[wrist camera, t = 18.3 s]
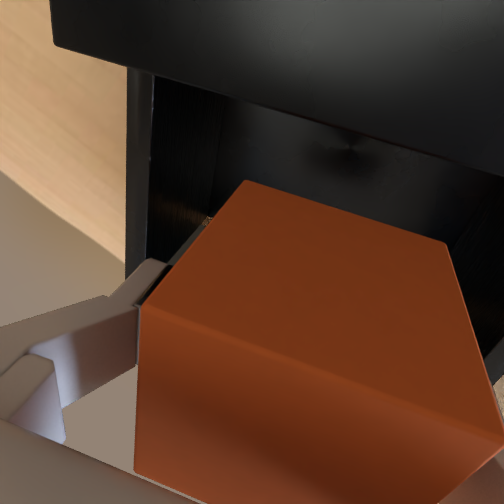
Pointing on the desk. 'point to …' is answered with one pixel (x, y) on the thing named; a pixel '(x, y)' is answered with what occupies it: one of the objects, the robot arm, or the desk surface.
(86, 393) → the robot arm
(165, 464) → the block
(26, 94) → the desk surface
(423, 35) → the cabinet
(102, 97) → the desk surface
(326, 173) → the drawer
